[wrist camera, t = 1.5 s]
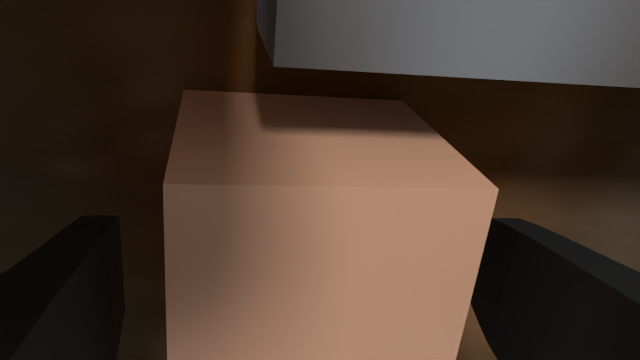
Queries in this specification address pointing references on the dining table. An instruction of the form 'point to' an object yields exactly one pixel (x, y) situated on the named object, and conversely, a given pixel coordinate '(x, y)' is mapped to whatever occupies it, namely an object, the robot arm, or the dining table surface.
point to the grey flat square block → (459, 38)
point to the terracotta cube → (317, 230)
